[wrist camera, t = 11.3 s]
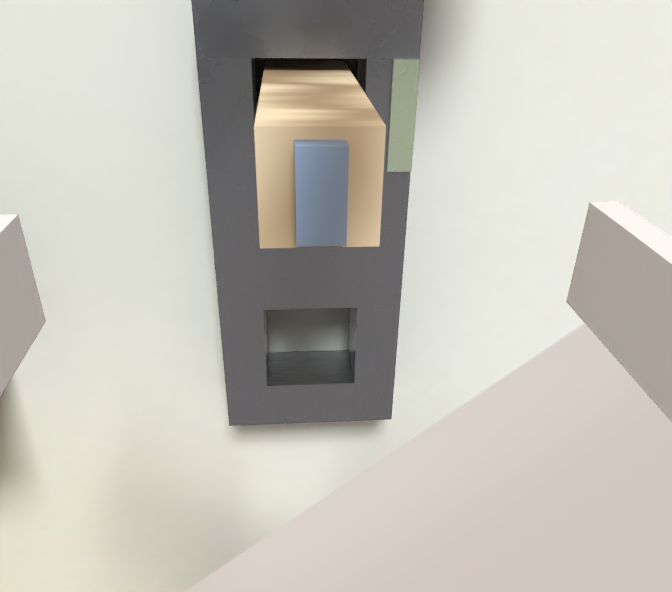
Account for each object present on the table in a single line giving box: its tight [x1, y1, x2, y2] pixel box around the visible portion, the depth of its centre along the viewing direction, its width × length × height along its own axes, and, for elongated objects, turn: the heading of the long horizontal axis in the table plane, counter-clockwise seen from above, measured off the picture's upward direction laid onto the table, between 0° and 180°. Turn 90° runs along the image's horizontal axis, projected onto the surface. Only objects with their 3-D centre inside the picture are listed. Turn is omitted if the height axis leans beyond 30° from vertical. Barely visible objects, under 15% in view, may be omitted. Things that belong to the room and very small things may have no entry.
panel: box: [191, 0, 424, 426], centre depth 33 cm, size 10×24×4 cm, turn 179°
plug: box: [254, 61, 386, 248], centre depth 25 cm, size 4×4×15 cm
